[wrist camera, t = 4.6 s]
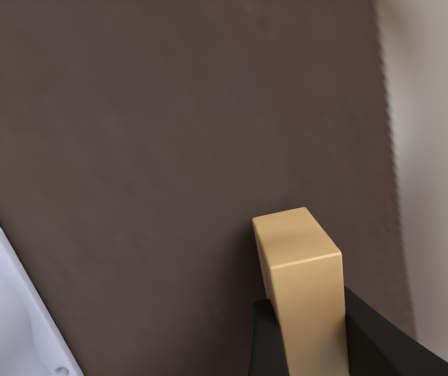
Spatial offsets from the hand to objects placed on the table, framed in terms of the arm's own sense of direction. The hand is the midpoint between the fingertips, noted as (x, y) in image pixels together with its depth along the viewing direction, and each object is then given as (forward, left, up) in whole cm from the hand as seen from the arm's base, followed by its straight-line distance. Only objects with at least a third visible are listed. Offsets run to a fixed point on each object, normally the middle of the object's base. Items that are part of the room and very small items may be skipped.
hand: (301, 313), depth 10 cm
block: (0, 0, -1) cm, 1 cm away
